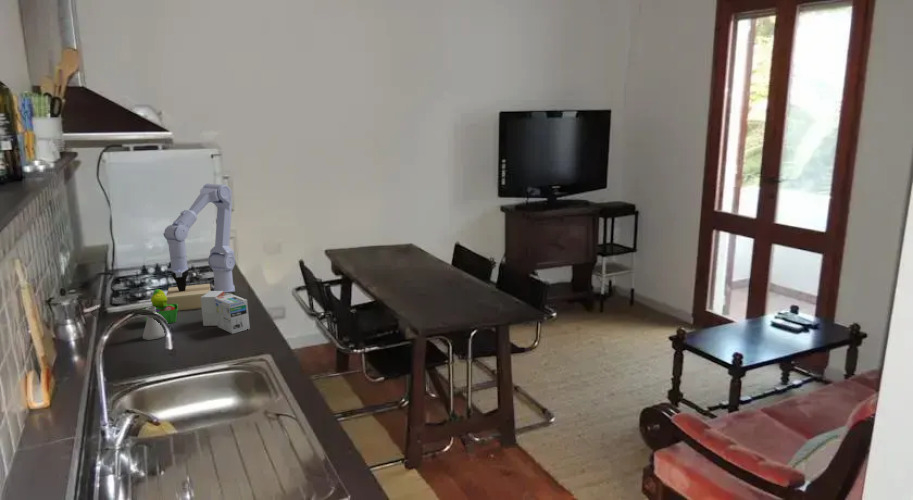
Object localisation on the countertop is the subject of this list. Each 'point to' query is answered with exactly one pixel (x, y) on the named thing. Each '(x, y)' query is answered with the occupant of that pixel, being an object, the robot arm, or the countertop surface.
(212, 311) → the small box
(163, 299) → the fruit basket
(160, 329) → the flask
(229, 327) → the light bulb box
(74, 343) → the countertop surface
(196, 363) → the countertop surface
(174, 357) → the countertop surface
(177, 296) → the cardboard lid
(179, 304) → the cardboard box
